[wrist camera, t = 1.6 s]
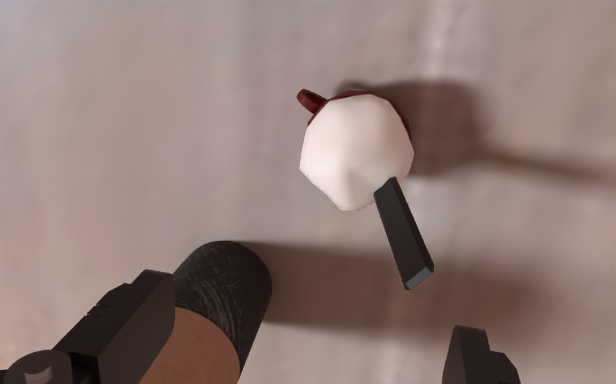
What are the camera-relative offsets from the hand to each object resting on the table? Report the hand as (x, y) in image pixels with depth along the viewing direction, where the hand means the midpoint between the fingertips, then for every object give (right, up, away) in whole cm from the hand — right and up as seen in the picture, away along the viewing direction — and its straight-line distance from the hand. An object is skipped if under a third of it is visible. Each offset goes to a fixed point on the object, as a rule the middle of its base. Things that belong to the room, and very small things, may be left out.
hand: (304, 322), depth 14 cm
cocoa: (+4, +7, +18) cm, 20 cm away
